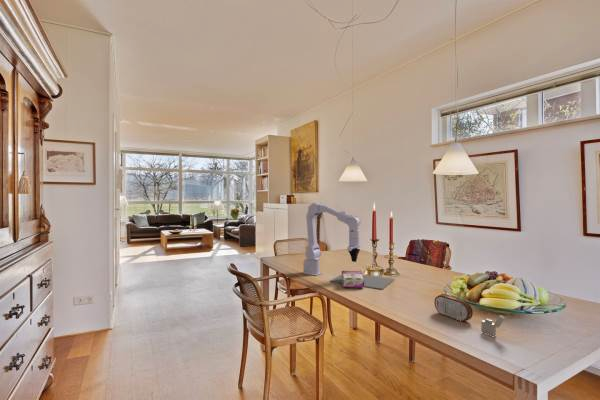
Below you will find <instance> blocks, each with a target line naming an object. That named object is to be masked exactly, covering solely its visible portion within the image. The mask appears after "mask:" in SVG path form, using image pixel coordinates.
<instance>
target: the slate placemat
mask: <svg viewBox="0 0 600 400" xmlns="http://www.w3.org/2000/svg"><path fill="white" fill-rule="evenodd" d="M362 275H363V277H364V288H369V289H373V290H374V289H376V290H381V291H382V290H384V289H386V288H387V287H388V286H390V284H392V282H394V281H395V278H391V277H384V276H375V275H370V274H369V275H366V274H362ZM329 282H330V283H335V284H336V283H337V284H342V285H343V283H342V274H339V275H338V276H337V277H335V278H333V279H331V280H329Z"/></svg>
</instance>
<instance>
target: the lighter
mask: <svg viewBox="0 0 600 400" xmlns="http://www.w3.org/2000/svg"><path fill="white" fill-rule="evenodd" d="M505 319H506V317H505V316H504V315H502V314H500V315H498V317H497V319H496V320H495V321H494V322H493V320H492V319H489V318H484V320H481V325H480V327H481V332H483V333H486V334H489V335H491V336H495V335H496V336H497V328H500V327H501V325H502V324H503V322H504V320H505ZM491 336H490V337H491Z"/></svg>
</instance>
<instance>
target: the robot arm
mask: <svg viewBox="0 0 600 400" xmlns="http://www.w3.org/2000/svg"><path fill="white" fill-rule="evenodd" d="M322 213H327V214H329V215H332V216H333V217H336V218H337V220H338V221H340V222H341V223H343V224H346V225H347V226H348V247H347V251H348V253H349V256H350V260H351V262H354V263H356V262H357V260H358V255H359V253H360V251H361V249H360V248H362V246H361V243H360V225H361V218H359V217H358V216H354V215H353V214H350V213H347V211H345V210H340V211H339V210H337V209H335V208H333V207H332V206H329V205H328V204H326V203H323V202H317V203H315V202H313V203H311V204H309V206H308V207H307V213H306V217H305V218H306V230H307V231H306V232H307V242H308V243H307V246H306V249H305V257H306V258H305V259H304V261H303V265H302V266H303V272H302V274H303V275H307V276H308V275H310V276H318V275H320V274H322V273H323V272H322V271H320V257H321V256H322V251H321V249H320V245H319V244H318V238H317V237H318V236H317V224H316V219H317V217H318V216H319V215H320V214H322Z"/></svg>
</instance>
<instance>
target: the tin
mask: <svg viewBox="0 0 600 400" xmlns="http://www.w3.org/2000/svg"><path fill="white" fill-rule="evenodd" d="M433 303H434V307H435V309H436V311H437V312H438V313H439V314H440V315H442V316H444V315H445V317H447V316H449V317H448V318H450V317H451V318H450V319H452V318H454V319H453V320H455V319H458V320H461V321H464V322H466V321H469V320H471V319H472V317H473V314H474V312H473V311H474V310H473V308H472V305H471V304H470V302H468V301H467V300H465V299H463V298H460V297H456V296H453V295H451V294H447V293H441V294H439V295H437V296H436V297H434V302H433ZM458 320H457V321H458ZM461 321H460V322H461Z"/></svg>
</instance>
